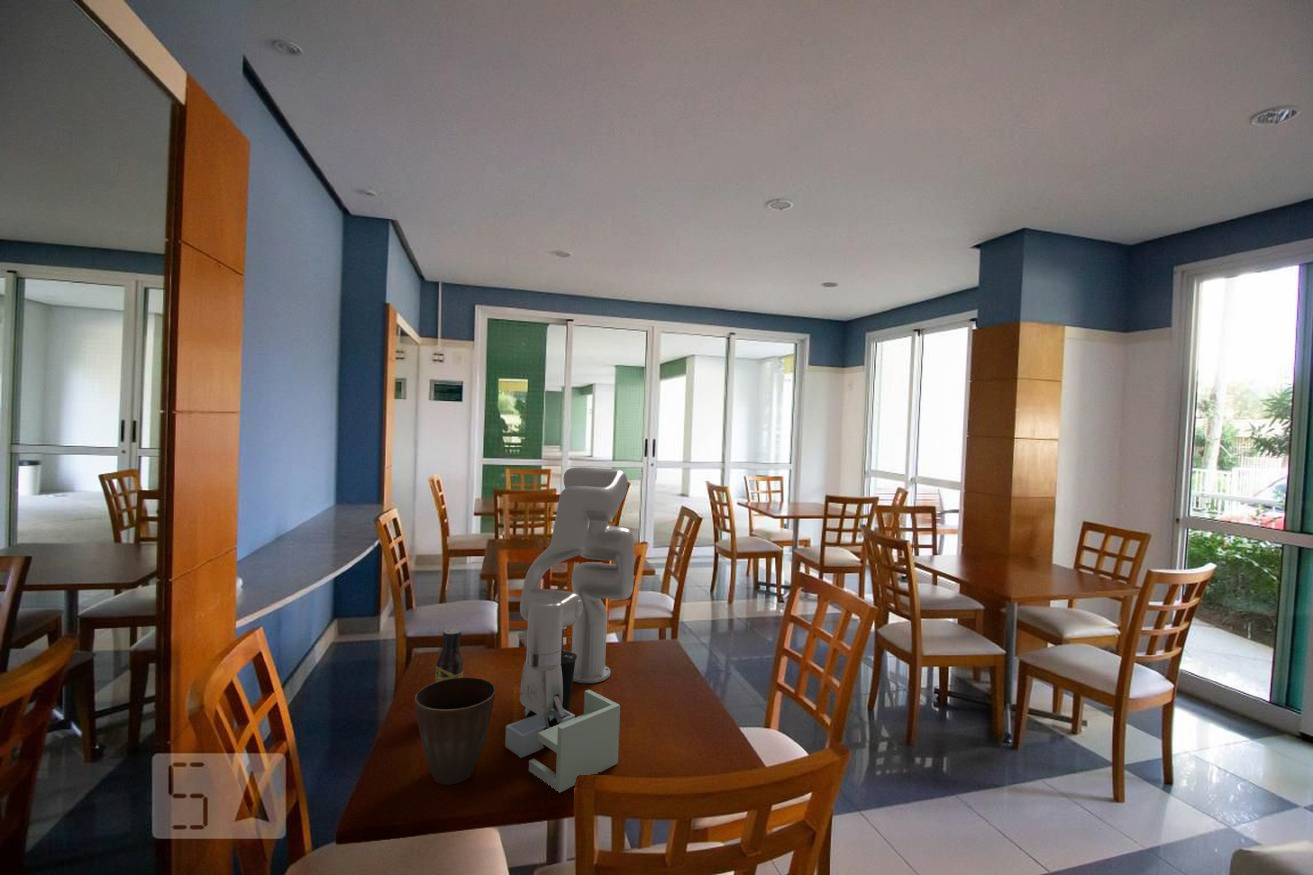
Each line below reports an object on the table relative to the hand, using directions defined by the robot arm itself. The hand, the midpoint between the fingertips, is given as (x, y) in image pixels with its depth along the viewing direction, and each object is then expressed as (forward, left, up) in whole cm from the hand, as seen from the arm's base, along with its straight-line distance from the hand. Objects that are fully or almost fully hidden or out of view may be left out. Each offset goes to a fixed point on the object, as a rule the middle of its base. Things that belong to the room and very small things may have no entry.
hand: (540, 737), depth 128 cm
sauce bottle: (-25, -9, -1) cm, 27 cm away
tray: (0, 0, -1) cm, 1 cm away
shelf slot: (+13, -1, -1) cm, 13 cm away
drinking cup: (-8, +11, -1) cm, 14 cm away
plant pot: (-1, -20, -1) cm, 20 cm away
